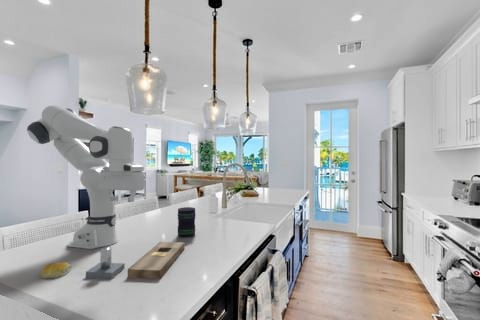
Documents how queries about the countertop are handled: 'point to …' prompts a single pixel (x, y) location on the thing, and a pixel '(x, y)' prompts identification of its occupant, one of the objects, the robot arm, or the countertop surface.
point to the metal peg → (105, 258)
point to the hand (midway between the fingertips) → (121, 201)
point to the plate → (105, 271)
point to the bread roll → (55, 270)
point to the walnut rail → (156, 260)
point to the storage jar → (186, 222)
